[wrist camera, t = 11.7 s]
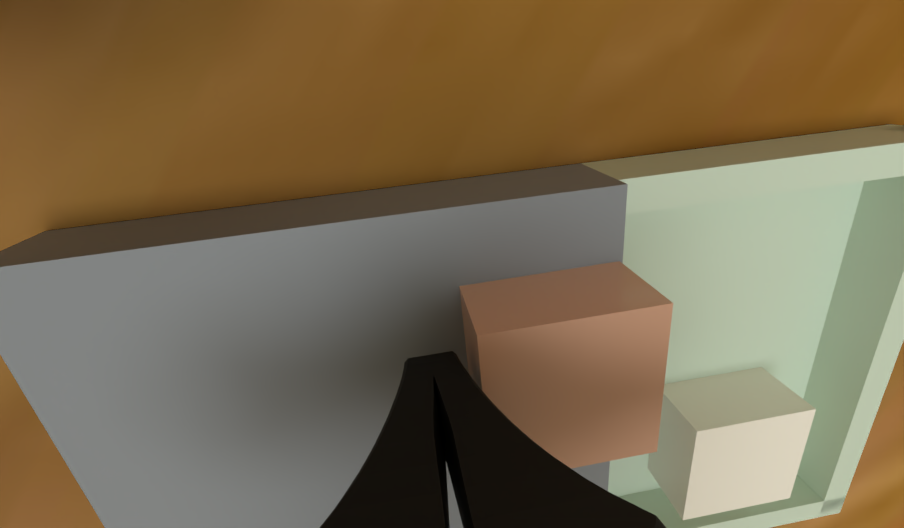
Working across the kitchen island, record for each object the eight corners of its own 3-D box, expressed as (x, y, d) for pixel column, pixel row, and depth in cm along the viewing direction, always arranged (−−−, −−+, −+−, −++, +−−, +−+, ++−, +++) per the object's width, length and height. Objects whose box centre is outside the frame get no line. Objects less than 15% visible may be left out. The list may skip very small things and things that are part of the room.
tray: (791, 466, 21) (839, 512, 19) (573, 509, 20) (597, 564, 18) (890, 124, 15) (980, 132, 13) (580, 163, 14) (618, 179, 12)
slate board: (573, 509, 20) (602, 576, 18) (216, 580, 19) (188, 664, 16) (580, 163, 14) (627, 183, 11) (45, 231, 13) (-49, 273, 10)
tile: (682, 520, 17) (647, 467, 19) (790, 498, 17) (743, 449, 20) (697, 431, 15) (656, 385, 18) (815, 409, 16) (761, 367, 18)
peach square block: (612, 390, 14) (656, 451, 12) (473, 416, 14) (490, 484, 11) (619, 261, 12) (673, 303, 10) (459, 286, 12) (477, 336, 10)
